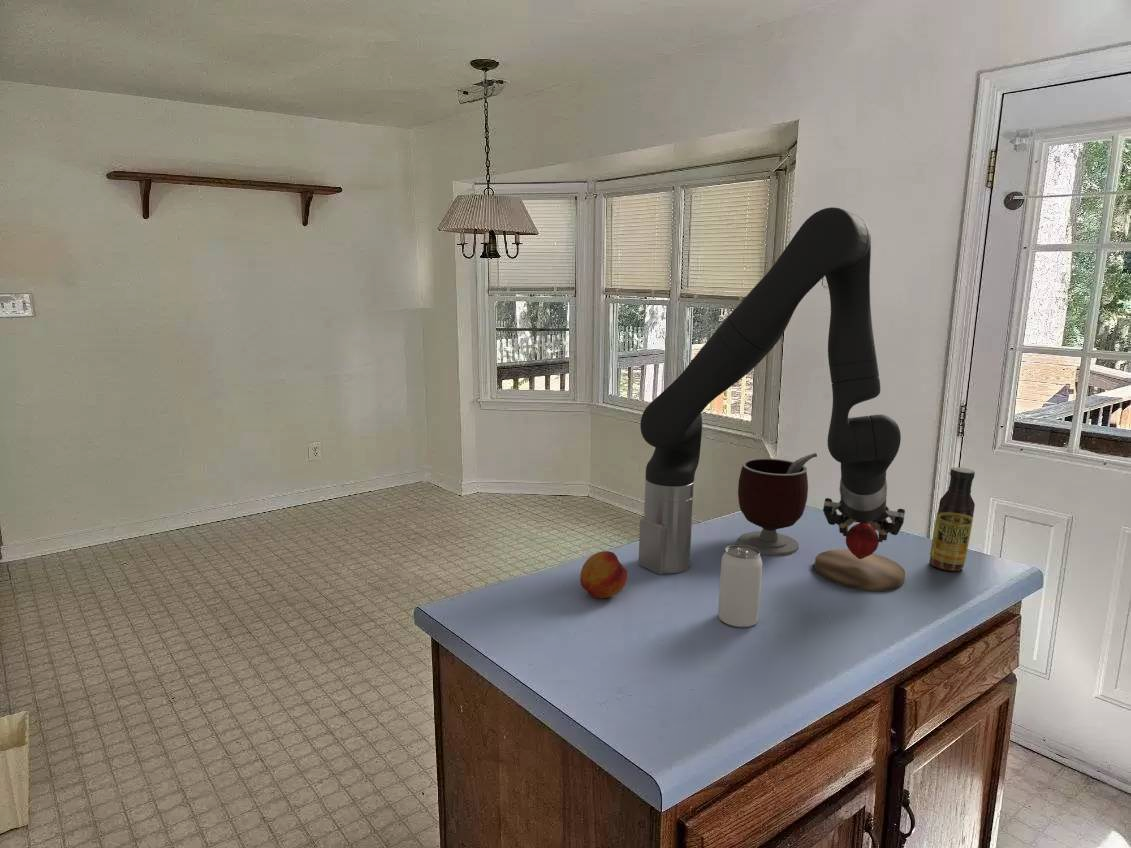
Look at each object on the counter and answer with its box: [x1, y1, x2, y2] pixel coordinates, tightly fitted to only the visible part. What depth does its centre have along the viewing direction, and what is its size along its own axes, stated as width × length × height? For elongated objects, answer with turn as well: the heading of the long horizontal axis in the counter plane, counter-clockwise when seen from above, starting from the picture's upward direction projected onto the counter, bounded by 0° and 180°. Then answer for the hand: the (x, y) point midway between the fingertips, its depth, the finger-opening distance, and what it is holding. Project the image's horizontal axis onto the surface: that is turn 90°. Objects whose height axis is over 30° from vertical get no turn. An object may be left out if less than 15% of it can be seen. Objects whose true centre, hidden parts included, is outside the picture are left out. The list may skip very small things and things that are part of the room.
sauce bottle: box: [929, 466, 976, 572], centre depth 140 cm, size 7×6×20 cm
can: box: [717, 544, 763, 629], centre depth 118 cm, size 6×6×12 cm
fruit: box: [579, 550, 629, 599], centre depth 127 cm, size 8×8×8 cm
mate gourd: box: [737, 452, 818, 557], centre depth 151 cm, size 16×14×20 cm
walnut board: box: [814, 549, 906, 592], centre depth 139 cm, size 16×16×2 cm
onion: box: [845, 522, 880, 559], centre depth 137 cm, size 6×6×8 cm
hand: (863, 534), depth 139 cm, fingers closed on onion, 5 cm apart
